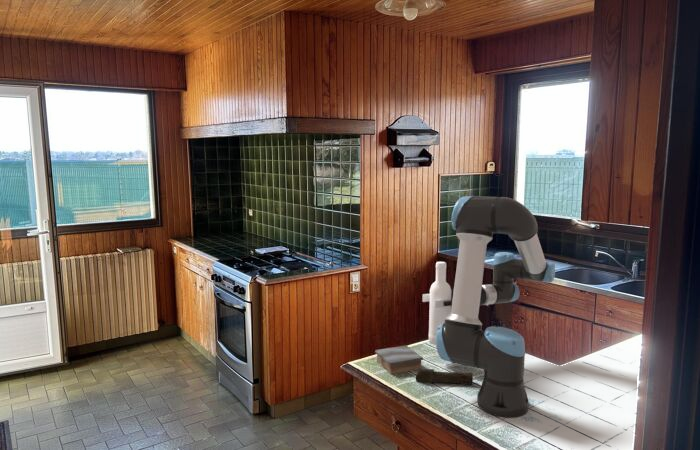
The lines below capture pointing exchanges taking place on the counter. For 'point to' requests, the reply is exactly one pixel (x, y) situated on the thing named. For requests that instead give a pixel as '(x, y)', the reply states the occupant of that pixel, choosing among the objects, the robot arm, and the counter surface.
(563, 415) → the counter surface
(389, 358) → the slate stand
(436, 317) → the bottle
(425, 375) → the hand tool
